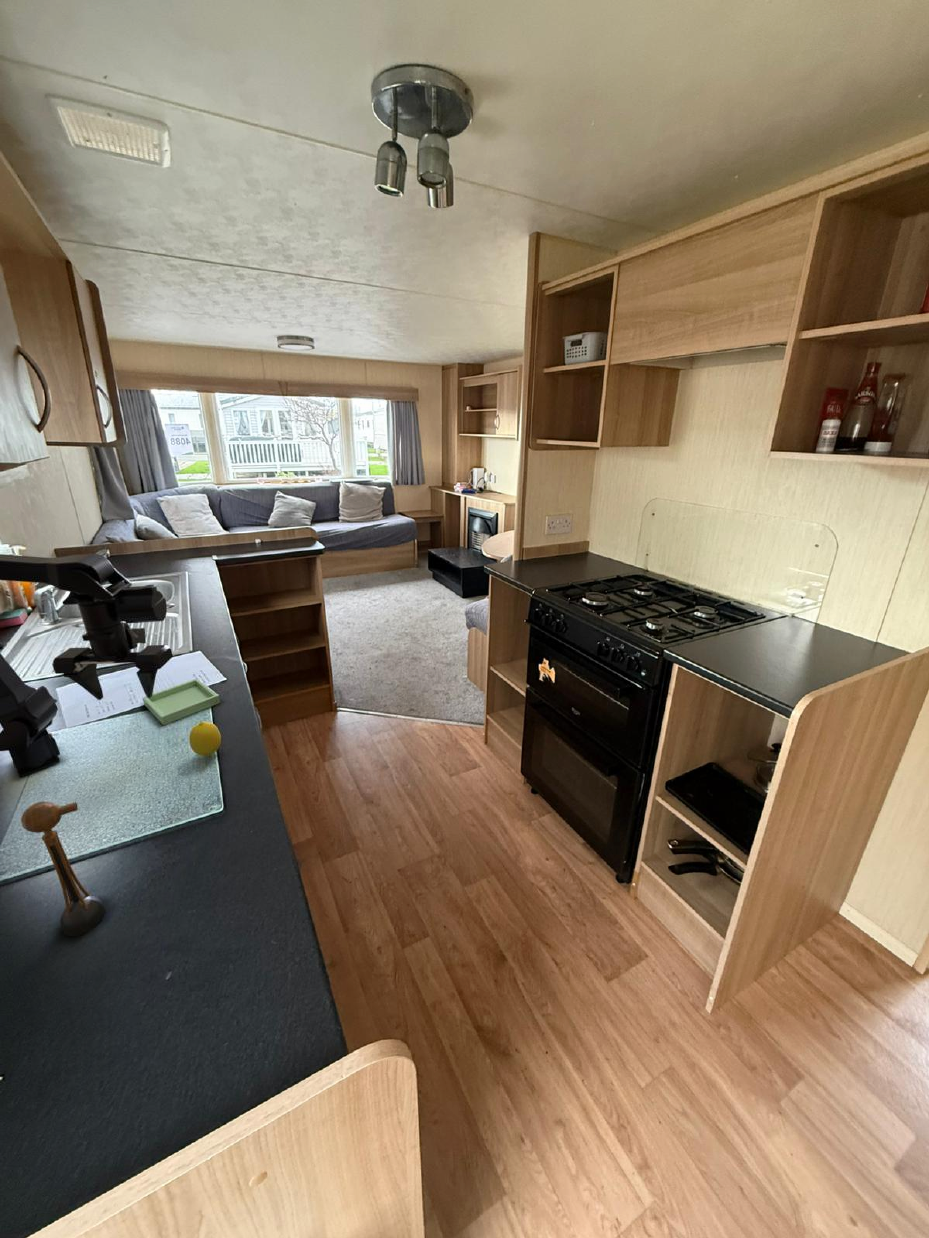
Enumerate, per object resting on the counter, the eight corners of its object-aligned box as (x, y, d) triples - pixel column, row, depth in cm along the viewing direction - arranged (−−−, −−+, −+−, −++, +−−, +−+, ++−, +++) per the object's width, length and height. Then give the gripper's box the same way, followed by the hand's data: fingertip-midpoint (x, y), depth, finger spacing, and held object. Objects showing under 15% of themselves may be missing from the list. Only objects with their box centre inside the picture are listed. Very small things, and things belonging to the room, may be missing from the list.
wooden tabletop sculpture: (114, 894, 72) (73, 783, 65) (114, 919, 68) (70, 804, 61) (64, 914, 69) (14, 800, 62) (60, 942, 66) (7, 824, 58)
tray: (163, 725, 112) (161, 717, 111) (144, 705, 120) (142, 697, 119) (220, 702, 120) (218, 695, 120) (199, 685, 128) (197, 678, 127)
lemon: (229, 748, 104) (222, 715, 101) (214, 765, 99) (206, 731, 96) (204, 746, 104) (196, 713, 101) (188, 763, 99) (179, 729, 96)
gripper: (176, 607, 100) (192, 676, 106) (78, 609, 99) (100, 679, 105) (148, 629, 90) (167, 704, 96) (38, 632, 88) (64, 708, 94)
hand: (125, 697), depth 98 cm, fingers open, 9 cm apart
